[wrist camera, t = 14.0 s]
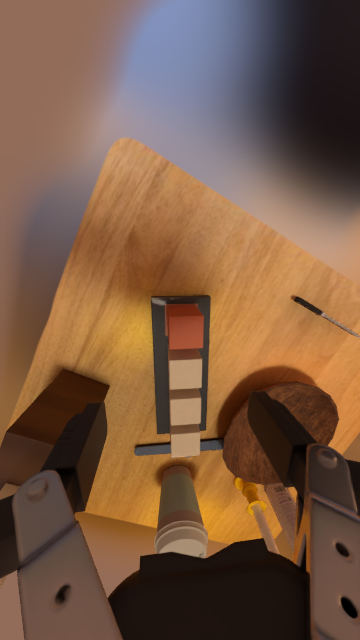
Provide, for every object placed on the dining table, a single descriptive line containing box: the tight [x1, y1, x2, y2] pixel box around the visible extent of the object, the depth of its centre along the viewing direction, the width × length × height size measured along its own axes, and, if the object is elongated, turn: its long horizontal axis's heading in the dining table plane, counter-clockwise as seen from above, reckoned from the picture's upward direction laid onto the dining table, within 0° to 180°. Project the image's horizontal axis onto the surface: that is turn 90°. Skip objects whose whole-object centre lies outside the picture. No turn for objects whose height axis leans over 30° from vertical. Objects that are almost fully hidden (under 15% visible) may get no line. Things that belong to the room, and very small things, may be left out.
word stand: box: [0, 369, 110, 588], centre depth 27 cm, size 18×8×19 cm, turn 153°
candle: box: [234, 477, 280, 555], centre depth 37 cm, size 5×5×16 cm
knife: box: [294, 297, 360, 338], centre depth 34 cm, size 15×1×2 cm, turn 61°
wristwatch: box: [134, 439, 225, 457], centre depth 39 cm, size 4×20×1 cm, turn 90°
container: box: [265, 483, 296, 553], centre depth 38 cm, size 5×5×15 cm
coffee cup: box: [154, 465, 208, 558], centre depth 36 cm, size 8×8×12 cm
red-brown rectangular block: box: [167, 306, 204, 350], centre depth 28 cm, size 4×4×6 cm
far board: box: [151, 295, 211, 458], centre depth 32 cm, size 9×25×8 cm, turn 0°
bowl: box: [223, 381, 339, 485], centre depth 38 cm, size 20×22×5 cm
